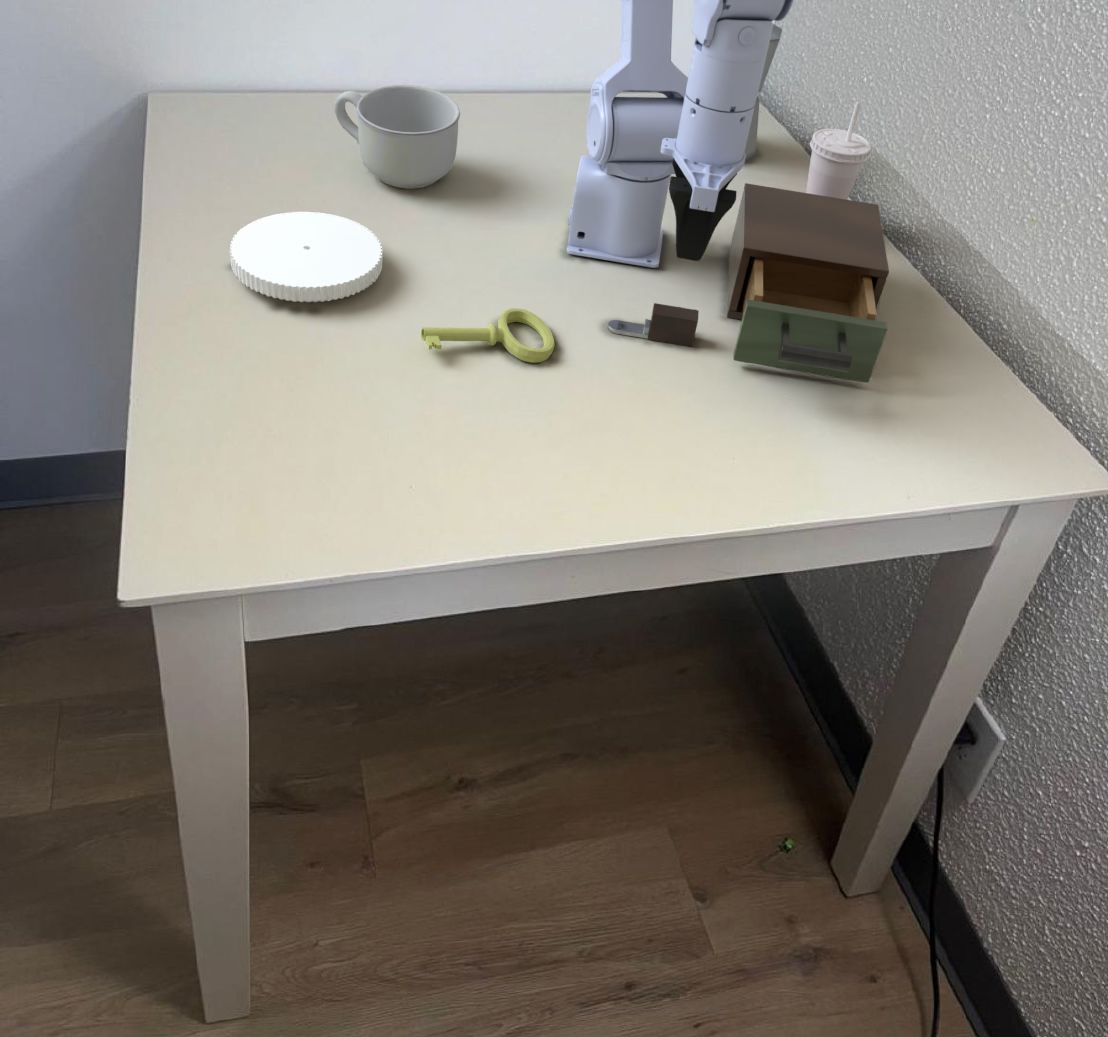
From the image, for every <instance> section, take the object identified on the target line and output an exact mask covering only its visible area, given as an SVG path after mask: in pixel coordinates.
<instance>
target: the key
mask: <svg viewBox="0 0 1108 1037" xmlns="http://www.w3.org/2000/svg"><path fill="white" fill-rule="evenodd" d="M510 323H522V324H526V325H527V326H529V327H531V328H532V329H534V330H535V331H536V332H537V333H538V334H539V336H540V337H541V339H542V341H543V346H542V347H541V348H537V347H536V348H535V347H530V346H527V345H524V344H523V343H522V342H520V341H519V340H518V339H517V338H516V337H515V336H514V335H513V334H512V332H511V331H510V328H509V326H508V324H510ZM420 336H421V341H422V342H425V343H426V346H427V348H428V350H433V349H436V350H442V346H443V345H442V342H487V343H488V345H489V346H495V345H496V344H497V342H501V343H502V346H504V348H505V350H507V351H508V352H509V353H510V354H511V355H512V356H514V357H515V358H517V359H519V360H521V361H524V362H527V363H535V364H536V363H542V362H546V361H547V360H549V358H550V356H552V353H553V352H554V351H555V346H556V345H555V343H556V342H555V338H554V336H553V334H552V331H551V330H550V328H549V326H548V325H547V324H546V323H545V321H543V320H542V318H540V317H539V316H538V315H536V314H535V313H534V312H531V311H529V310H527V309H524V308H520V307H519V308H517V307H511V308H507V309H505V310H503V311H502V313H501V315H500V316H499V319H498V321H497V326H496V324H494V323H489V324H488V325H487V327H437V326H436V327H434V326H433V327H429V326H424V327H423V326H422V327H421V330H420Z"/></svg>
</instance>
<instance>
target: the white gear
mask: <svg viewBox="0 0 1108 1037" xmlns="http://www.w3.org/2000/svg"><path fill="white" fill-rule="evenodd" d="M229 256H230V266H231V267H230V268H231V270H232V271H233V274H234V275H235V277H236V278H238V281H239V282H241V283H242V284H243V285H245V287H247V288H248V287H249V288H250V290H252V291H253V290H254V291H255V292H256V293H260V294H261V295H265V296H266V297H272V299H279V300H280V301H281V300H282V301H283V300H285V301H286V302H287V301H289V302H290V301H292V302H299V303H304V302H306V303H311V302H313V303H317V302H321V303H322V302H325V301H327V302H330V301H332V300H334V301H336V300H338V299H344V298H345V297H347V298H348V297H350V296H351V295H352V296H354V295H355V294H356V293H360V292H361V291H364V290H365V289H366V288H367V289H368V288H369V287H370V286H371V285H373V282H374V283H375V282H376V280H377V279H379V276H380V275H381V272H382V270H383V246H382V242H381V241H380V239H379V237H378V236H376V234H375V233H374V232H373V230H370V229H369V228H368V227H366V226H365V225H363V224H361V223H360V222H356V221H355V220H351V219H350V218H346V217H345V216H340V215H337V214H336V215H335V214H333V213H329V214H328V213H327V212H320V211H318V212H315V211H310V212H309V211H307V210H306V211H291V212H288V211H285V213H282V212H279V213H278V214H276V213H274V214H272V215H267V216H262V217H261V218H257V219H256V220H252V221H251V223H250V222H249V223H247V224H246V225H244V226H242V228H239V231H236V234H234V235H233V237H232V238H231V241H230V244H229Z"/></svg>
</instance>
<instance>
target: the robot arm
mask: <svg viewBox="0 0 1108 1037" xmlns="http://www.w3.org/2000/svg"><path fill="white" fill-rule="evenodd" d="M794 1H795V0H694V1H693V2H694V5H693V13H692V17H691V18H692V19H691V24H692V25H691V32H692V34H693V35H694V36H695V40H694V43H693V50H692V55H691V60H690V67H689V72H688V76H687V75H686V74H685V73H684V72H683V71H682V70H680V69H679V68H678V67H677V66H676V65H675V63H674V62H673V61H672V42H673V41H672V39H673V12H674V11H673V10H674V8H673V7H674V0H621V9H620V10H621V13H620V14H621V15H620V17H621V18H620V57H619V59H618V60H617V61H616V62H614V64H613V65H611V66H610V67H609V68H607V69H606V70H604V72H602V73H601V74H600V75H599V76H598V77H597V78H596V79H595V80H594V82H593V83H592V85H591V88H590V97H589V98H590V99H589V106H588V107H589V108H588V110H587V111H588V112H587V116H586V124H585V125H586V126H585V136H586V146H587V151H588V153H589V154H582V155H581V156H580V159H579V164H578V168H577V172H576V173H577V174H576V179H575V185H574V193H573V200H572V201H573V202H572V207H570V209H569V215H568V223H567V225H568V226H569V231H568V239H567V246H566V253H567V254H569V255H574V256H579V257H586V258H592V259H598V260H602V261H610V262H616V263H621V264H628V265H634V266H640V267H646V268H652V269H656V268H658V267H659V265H660V260H661V253H662V244H663V238H664V237H663V236H664V229H663V228H662V225H663V219H664V214H665V210H666V203H667V197H668V192H669V197H670V200H671V202H672V205H673V209H674V214H675V215H674V216H675V254H676V258H677V259H682V260H688V261H693V262H700V261H701V260H702V258H703V256H704V254H705V252H706V250H707V248H708V246H709V244H710V241H711V239H712V237H713V234H714V233H715V230H716V228H717V226H719V223H720V222H721V220H722V219H723V218H724V217H725V215H726V214H727V213H728V212H729V211H730V210H731V209H732V208H733V207H734V205H735V202H736V201H737V190H734V189H728V186H729V185H730V184H731V183H732V181H733V180H734V179H735V177H736V176H737V175H738V173H739V172H740V171H741V170H742V169H743V168H744V166H745V162H746V161H745V158H746V154H745V147H746V143H747V138H748V134H749V130H750V125H751V121H752V116H753V112H754V107H755V104H756V99H757V96H759V95H758V94H759V93H758V90H759V86H760V82H761V77H762V73H763V69H764V64H765V60H766V55H767V51H768V47H769V42H770V38H771V34H772V29H773V24H774V23H773V22H774V21H776V22H780V21H783V20H784V19H785V18H786V17H787V15H788V14H789V12H790V11H791V9H792V6H793V4H794ZM771 21H772V22H771ZM629 92H630V93H658V94H662V95H664V97H661V96H659V97H658V96H656V97H653V96H651V97H650V96H647V97H646V96H617V95H619V94H620V93H629ZM673 175H675V176H673Z"/></svg>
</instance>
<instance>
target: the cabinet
mask: <svg viewBox="0 0 1108 1037" xmlns="http://www.w3.org/2000/svg"><path fill="white" fill-rule="evenodd" d="M743 186H744V187H743V191H742V195H741V199H740V205H739V208H738V212H737V216H736V221H735V225H734V228H733V233H732V238H731V241H730V242H731V243H730V246H729V255H728V256H729V257H728V278H727V300H726V301H727V302H726V318H728V319H729V318H730V319H735V320H741V321H742V318H743V288H744V284H745V280H746V276H747V272H748V267H749V263H750V259H751V257H758V258H764V259H770V260H776V261H782V262H788V263H794V264H800V265H806V266H812V267H819V268H825V269H831V270H837V271H843V272H849V273H855V274H861V275H867V276H871V278H872V285H873V292H874V299H875V306H876V310H877V309H878V306H879V303H880V301H881V296H882V294H883V291H884V288H885V285H886V282H887V279H888V276H889V274H890V268H889V262H888V257H887V250H886V244H885V239H884V233H883V226H882V220H881V213H880V207H879V204H876V203H870V202H864V201H858V200H852V199H847V200H846V199H840V198H834V197H827V196H821V195H815V194H809V193H806V192H801V191H795V190H789V189H784V188H777V187H771V186H765V185H760V184H754V183H748V182H745V183H744V185H743Z"/></svg>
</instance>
